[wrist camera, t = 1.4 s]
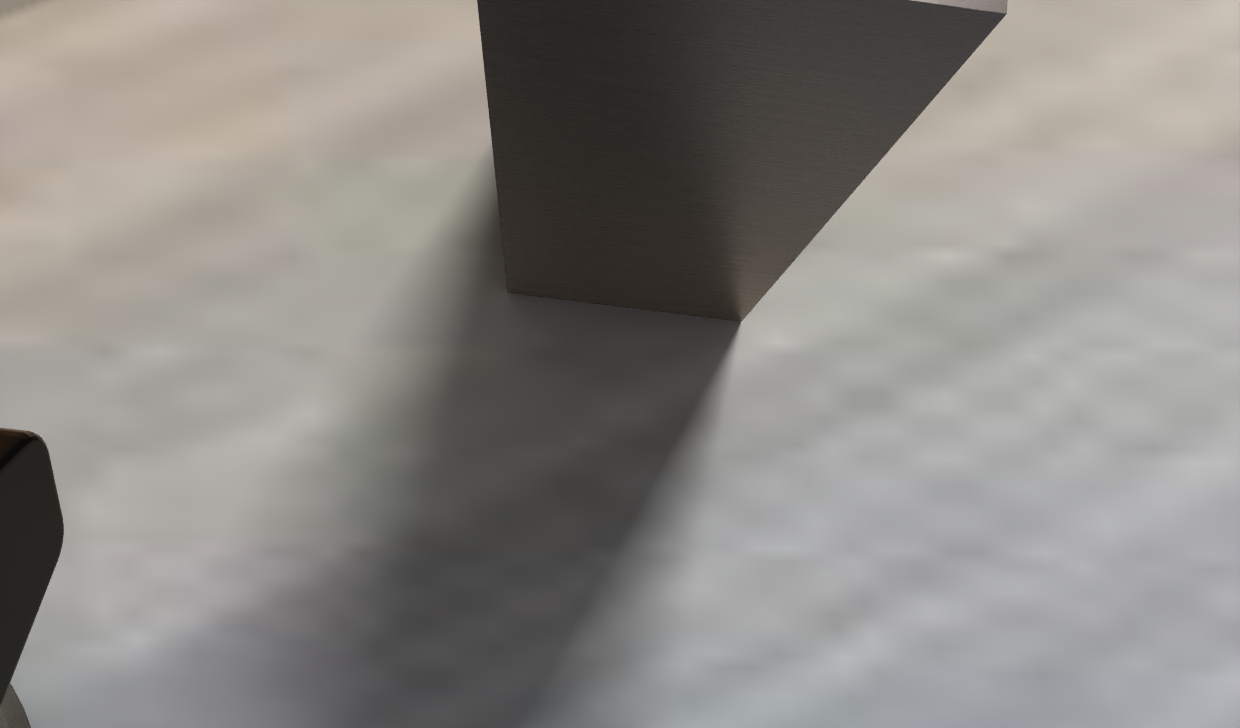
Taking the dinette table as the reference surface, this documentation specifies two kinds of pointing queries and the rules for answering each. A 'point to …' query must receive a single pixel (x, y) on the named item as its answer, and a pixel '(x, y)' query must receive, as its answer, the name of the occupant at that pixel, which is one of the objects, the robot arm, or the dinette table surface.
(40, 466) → the robot arm
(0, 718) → the ratchet
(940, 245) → the dinette table surface
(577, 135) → the open-top metal box
